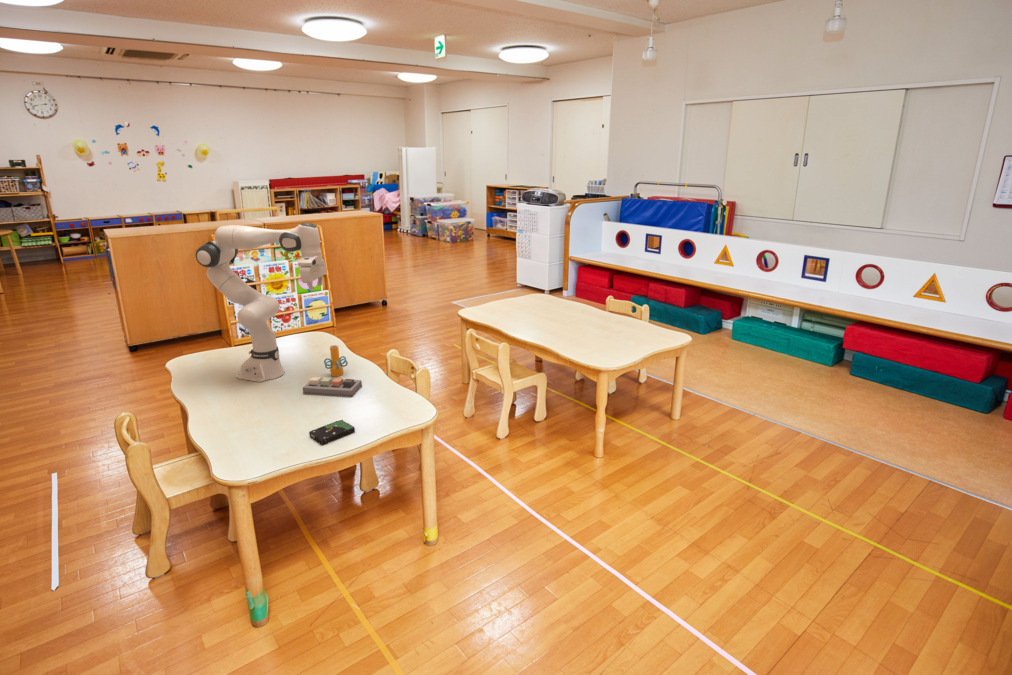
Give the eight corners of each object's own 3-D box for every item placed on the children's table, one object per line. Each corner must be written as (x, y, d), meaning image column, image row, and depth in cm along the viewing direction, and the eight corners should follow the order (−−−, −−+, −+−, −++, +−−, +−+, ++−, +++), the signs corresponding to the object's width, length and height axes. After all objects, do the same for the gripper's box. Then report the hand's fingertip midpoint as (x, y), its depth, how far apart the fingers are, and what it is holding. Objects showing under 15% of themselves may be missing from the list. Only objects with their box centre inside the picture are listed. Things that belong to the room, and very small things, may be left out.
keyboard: (303, 393, 260) (302, 387, 259) (315, 383, 271) (314, 377, 270) (352, 397, 256) (351, 390, 255) (362, 386, 268) (361, 380, 267)
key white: (310, 384, 262) (309, 380, 261) (314, 381, 266) (313, 376, 265) (317, 385, 262) (317, 380, 261) (321, 381, 265) (320, 377, 264)
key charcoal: (343, 386, 260) (342, 382, 259) (346, 383, 264) (346, 378, 263) (351, 387, 259) (350, 382, 259) (354, 383, 263) (353, 379, 262)
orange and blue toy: (352, 370, 286) (349, 343, 280) (345, 379, 276) (342, 350, 271) (329, 369, 287) (326, 342, 282) (321, 378, 277) (317, 350, 272)
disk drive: (322, 447, 216) (355, 432, 226) (321, 440, 215) (354, 426, 225) (309, 437, 223) (342, 424, 233) (308, 431, 222) (341, 418, 232)
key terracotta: (332, 386, 261) (331, 381, 260) (335, 382, 264) (335, 378, 263) (340, 386, 260) (339, 381, 259) (343, 383, 264) (342, 378, 263)
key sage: (321, 385, 262) (320, 380, 261) (324, 382, 265) (324, 377, 264) (328, 385, 261) (328, 381, 260) (332, 382, 265) (331, 377, 264)
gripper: (315, 254, 266) (318, 282, 271) (296, 263, 247) (300, 293, 252) (327, 254, 266) (331, 282, 270) (309, 263, 246) (313, 293, 251)
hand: (316, 287), depth 261 cm, fingers open, 8 cm apart
